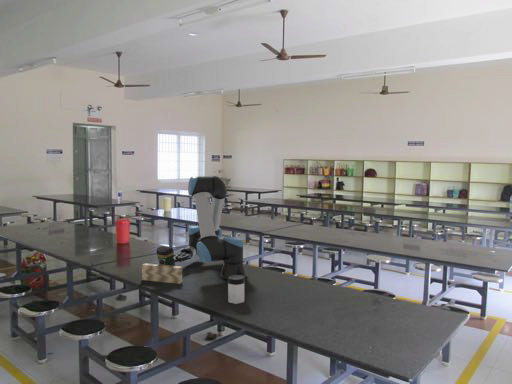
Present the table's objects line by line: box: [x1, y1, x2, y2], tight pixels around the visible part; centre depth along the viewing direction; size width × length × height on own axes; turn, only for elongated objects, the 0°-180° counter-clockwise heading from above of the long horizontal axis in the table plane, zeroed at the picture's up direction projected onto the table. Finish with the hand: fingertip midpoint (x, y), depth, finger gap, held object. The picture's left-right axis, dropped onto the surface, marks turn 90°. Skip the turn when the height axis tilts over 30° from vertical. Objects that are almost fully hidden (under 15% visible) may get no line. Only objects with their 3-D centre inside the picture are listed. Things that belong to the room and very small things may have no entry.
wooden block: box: [141, 262, 183, 285], centre depth 233 cm, size 24×3×9 cm, turn 73°
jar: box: [227, 275, 246, 305], centre depth 202 cm, size 9×8×12 cm
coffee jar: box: [156, 245, 176, 266], centre depth 237 cm, size 10×8×19 cm
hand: (169, 262), depth 242 cm, fingers closed
